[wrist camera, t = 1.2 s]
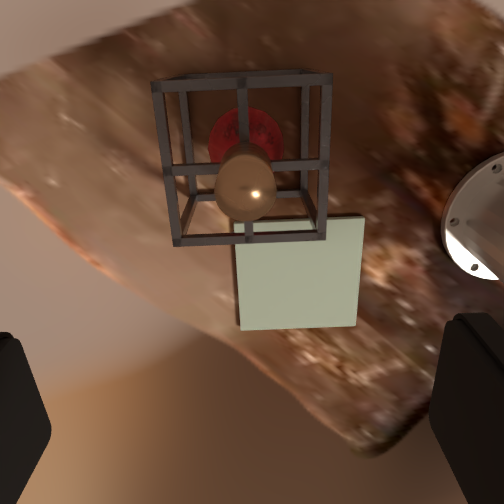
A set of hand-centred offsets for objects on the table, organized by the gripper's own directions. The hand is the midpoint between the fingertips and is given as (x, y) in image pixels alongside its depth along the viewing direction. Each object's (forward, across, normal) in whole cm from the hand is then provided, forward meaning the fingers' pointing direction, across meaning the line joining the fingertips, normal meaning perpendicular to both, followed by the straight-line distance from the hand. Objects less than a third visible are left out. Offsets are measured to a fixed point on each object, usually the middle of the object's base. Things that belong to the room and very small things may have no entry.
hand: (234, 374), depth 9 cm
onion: (+28, 0, 0) cm, 28 cm away
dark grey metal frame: (+28, 0, 0) cm, 28 cm away
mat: (+28, -4, +13) cm, 31 cm away
